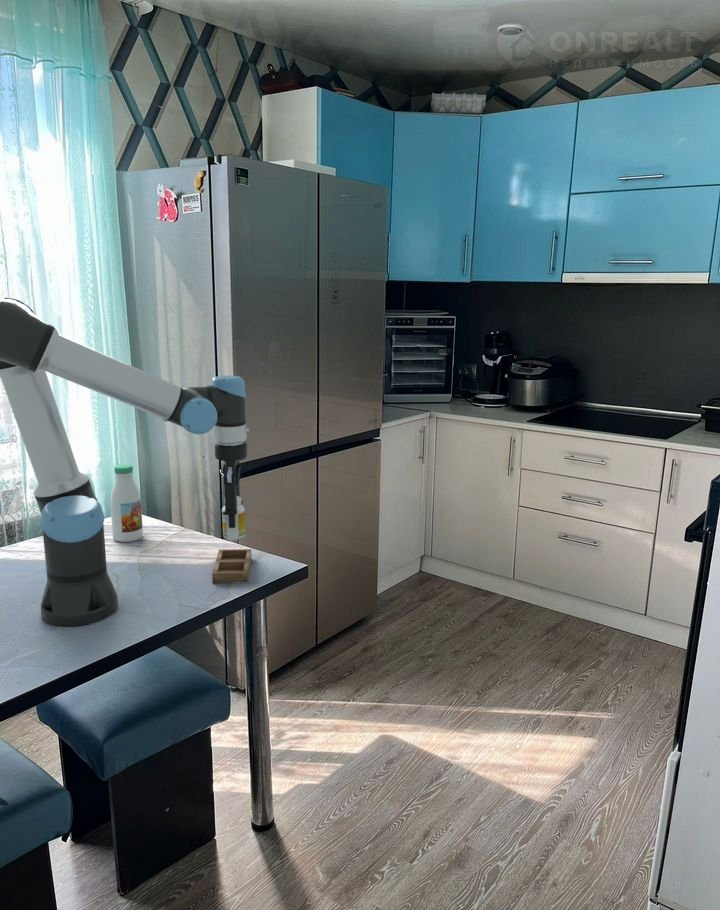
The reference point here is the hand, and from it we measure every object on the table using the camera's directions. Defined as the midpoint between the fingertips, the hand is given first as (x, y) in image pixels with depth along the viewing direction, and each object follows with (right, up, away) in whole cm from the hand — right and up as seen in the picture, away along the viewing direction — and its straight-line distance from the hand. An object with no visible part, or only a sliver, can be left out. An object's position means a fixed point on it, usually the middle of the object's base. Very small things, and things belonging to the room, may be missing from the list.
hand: (233, 534), depth 176 cm
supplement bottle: (0, 0, 0) cm, 1 cm away
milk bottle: (-32, -3, +19) cm, 37 cm away
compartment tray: (0, -8, -2) cm, 9 cm away
